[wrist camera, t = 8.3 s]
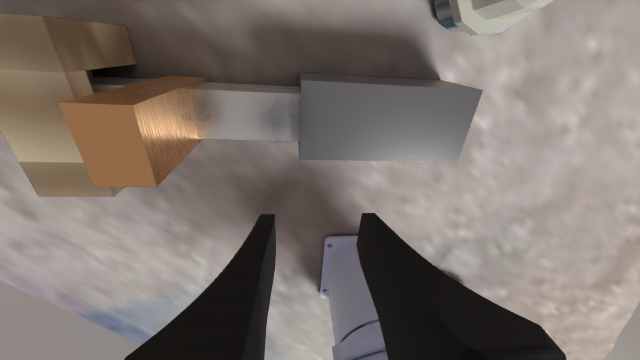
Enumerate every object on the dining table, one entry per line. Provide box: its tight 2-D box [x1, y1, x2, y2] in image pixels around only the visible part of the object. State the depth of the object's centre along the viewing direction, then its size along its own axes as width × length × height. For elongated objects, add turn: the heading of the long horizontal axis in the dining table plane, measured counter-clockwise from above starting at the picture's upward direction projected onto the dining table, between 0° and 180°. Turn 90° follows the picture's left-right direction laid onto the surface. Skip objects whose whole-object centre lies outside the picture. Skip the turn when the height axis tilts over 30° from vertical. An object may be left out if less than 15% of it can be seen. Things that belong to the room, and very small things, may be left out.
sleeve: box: [298, 72, 483, 162], centre depth 17 cm, size 5×11×5 cm, turn 87°
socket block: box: [0, 13, 136, 197], centre depth 15 cm, size 9×4×6 cm, turn 176°
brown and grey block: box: [58, 76, 301, 187], centre depth 14 cm, size 4×16×9 cm, turn 87°
